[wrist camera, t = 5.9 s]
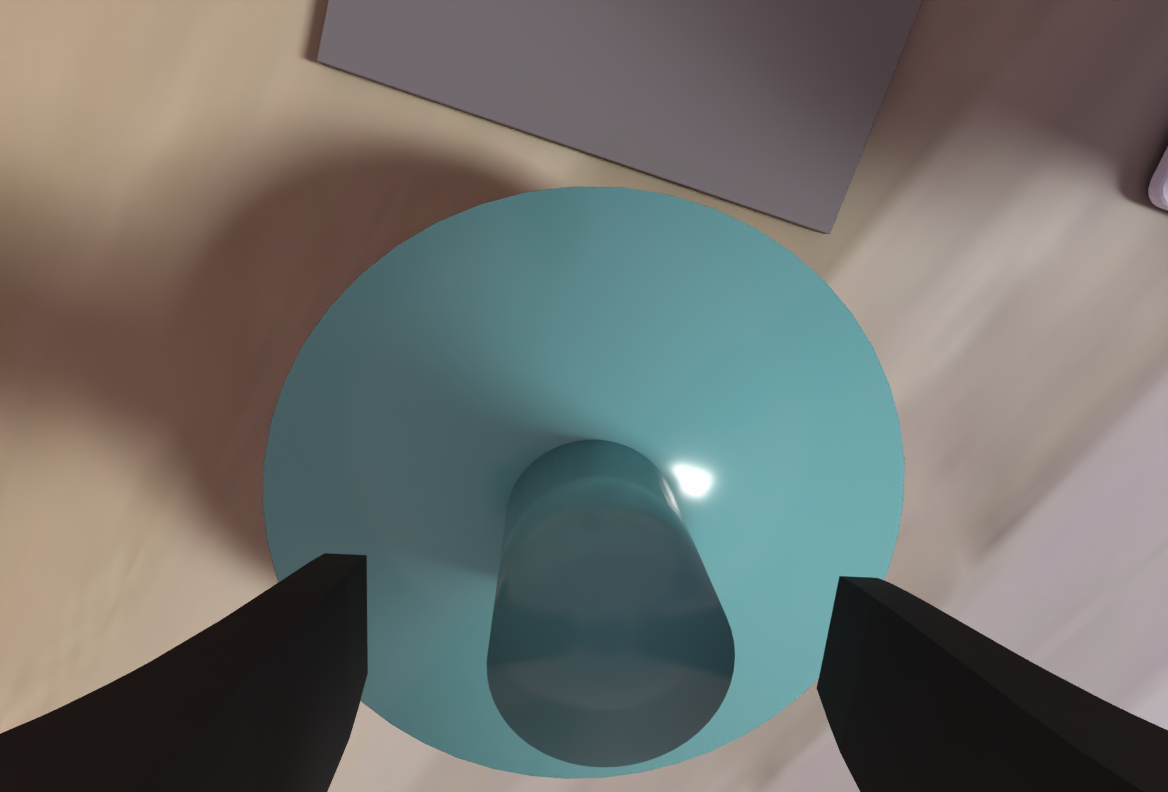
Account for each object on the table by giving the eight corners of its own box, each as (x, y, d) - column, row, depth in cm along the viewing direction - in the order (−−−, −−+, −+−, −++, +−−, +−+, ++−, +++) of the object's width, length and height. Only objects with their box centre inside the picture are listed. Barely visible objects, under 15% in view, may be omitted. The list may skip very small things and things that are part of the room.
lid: (943, 217, 12) (1197, 225, 8) (826, 756, 16) (951, 1003, 11) (266, 156, 11) (64, 122, 7) (289, 742, 15) (163, 1003, 10)
